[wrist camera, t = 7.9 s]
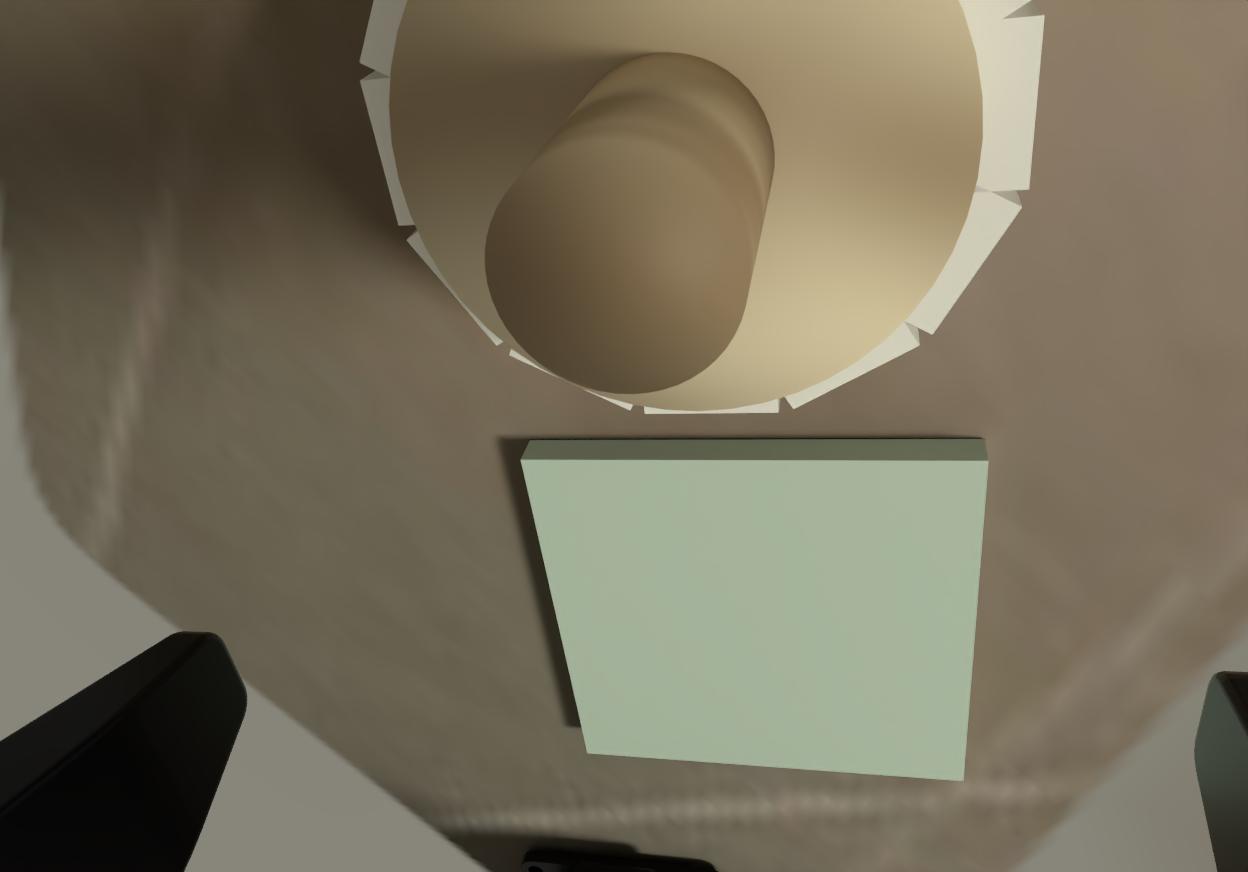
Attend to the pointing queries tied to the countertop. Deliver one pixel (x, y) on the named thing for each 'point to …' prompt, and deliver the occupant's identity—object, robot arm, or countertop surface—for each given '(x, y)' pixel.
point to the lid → (688, 180)
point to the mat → (767, 597)
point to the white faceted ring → (1009, 89)
